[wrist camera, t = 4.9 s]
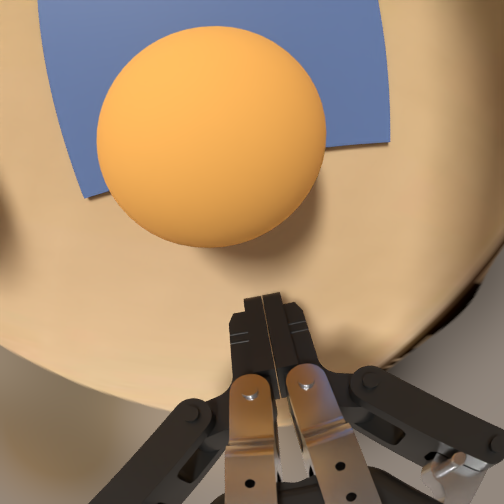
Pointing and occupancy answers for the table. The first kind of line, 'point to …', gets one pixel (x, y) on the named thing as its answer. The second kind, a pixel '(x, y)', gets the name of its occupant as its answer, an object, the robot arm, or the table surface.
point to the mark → (202, 15)
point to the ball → (211, 136)
